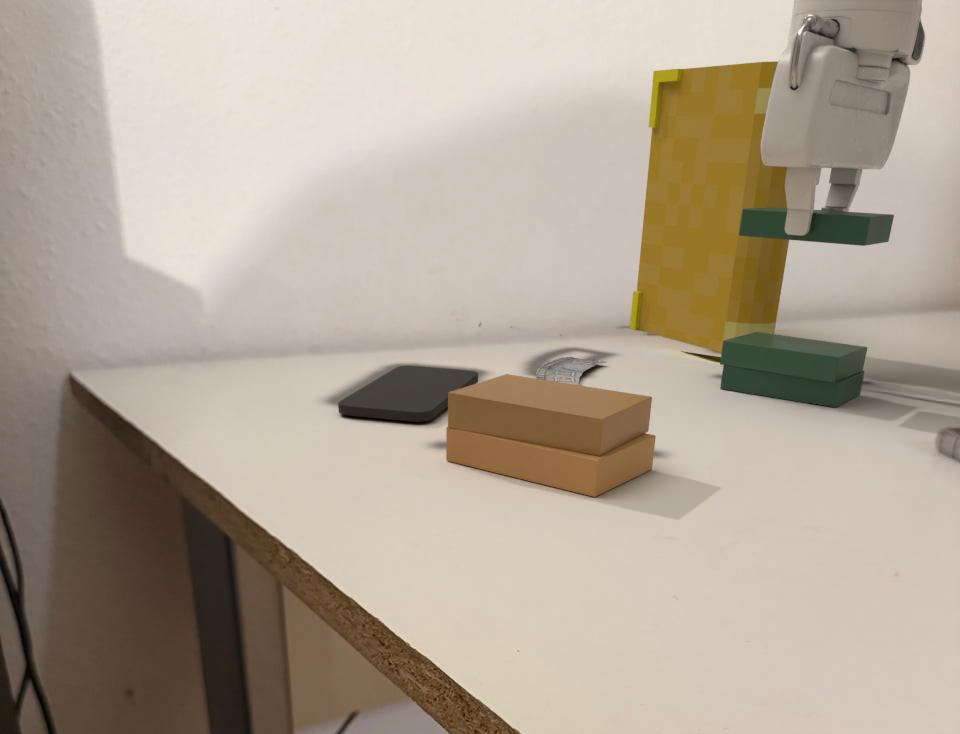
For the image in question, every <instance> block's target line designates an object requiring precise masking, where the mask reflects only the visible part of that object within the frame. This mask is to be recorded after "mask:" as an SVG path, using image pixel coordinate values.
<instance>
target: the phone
mask: <svg viewBox="0 0 960 734" xmlns="http://www.w3.org/2000/svg"><path fill="white" fill-rule="evenodd" d="M476 383H479V372H477V371H476V370H475V371H474V370H469V369H458V368H457V369H456V368H446V367H434V366H433V367H432V366H420V365H400V366H397V367H394V368H392V369H391V370H390V371H388V372H386V373H385V374H383V375H381V376H379V377H378V378H376V379H375V380H373V381H370V382H369V383H368V384H366V385H364V386H363V387H361V388H360V389H358V390H356V391H354V392H352V393H351V394H349V395H348V396H346V397H345V398H342V399H341V400H339V402H338V403H337V405H338V413H339V414H341V415H345V416H352V417H359V418H370V419H382V420H392V421H401V422H402V421H403V422H415V423H421V422H429V421H431V420H433V419H434V418H436V417H437V416H438V415H439V414H441V413H442V412H444V410H446V409H448V392H451V391H454V390H457V389H461V388H464V387H467V386H470V385H473V384H476Z"/></svg>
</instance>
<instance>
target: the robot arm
mask: <svg viewBox="0 0 960 734" xmlns="http://www.w3.org/2000/svg"><path fill="white" fill-rule="evenodd" d="M922 12H923V0H793V5H792V12H791V18H790V23H789V30H788V37H787V44H786V48H785V49H784V50H783V52H782V53H781V55H780V56H779V59H778V64H777V68H776V71H775V75H774V79H773V83H772V88H771V92H770V97H769V102H768V107H767V112H766V117H765V122H764V127H763V133H762V138H761V157H762V162H763V164H764V165H765V166H778V167H787V173H786V179H785V192H786V202H787V209H788V210H787V216H786V223H785V232H786V233H787V234H788V235H800V236H803V235H808V234H811V232H812V231H813V228H814V222H815V218H816V213H817V210H818V209H815V200H816V187H817V186H818V185H819V184H820V179H821V172H822V169H830V175H829V179H828V180H829V181H828V183H829V184H830V186H829V189H828V194H827V197H826V201H825V205H824V206H822V207H821V209H820V210H827V211H843V212H850V211H849V210H850V208H851V206H852V203H853V201H854V199H855V196H856V194H857V192H858V189H859V187H860V183H861V178H862V175H863V170H882V169H883V168H884V167H885V165H886V164H887V162H888V159H889V158H890V155H891V153H892V150H893V147H894V144H895V142H896V141H895V140H896V137H897V133H898V130H899V127H900V122H901V119H902V115H903V111H904V107H905V103H906V99H907V96H908V91H909V86H910V81H911V69H910V67H909V66H917V65H919V64H920V62H921V60H922V58H923V54H924V49H925V44H926V32H925V29H924V26H923V23H922Z"/></svg>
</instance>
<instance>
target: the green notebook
mask: <svg viewBox="0 0 960 734" xmlns="http://www.w3.org/2000/svg"><path fill="white" fill-rule="evenodd" d="M787 210H788V209H787V208H780V207H765V208H744V209H743V211H742V218H741V225H740V232H739V236H748V237H761V238H773V239H785V240H789V241H799V242H810V243H811V242H812V243H824V244H834V245H835V244H837V245H849V246H860V247H865V246H871V245H879V244H884V243H889V241H890V238H891V237H890V236H891V233H892V227H893V222H894V217H895V215H894V214H890V213H872V212H870V213H869V212H857V211H848V212H843V211H827V210H821V209H816V210H817V213H816V218H815V222H814V228H813V231H812V232H811V234H808V235H803V236H800V235H788V234H787V233H786V232H785V223H786V216H787Z"/></svg>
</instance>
